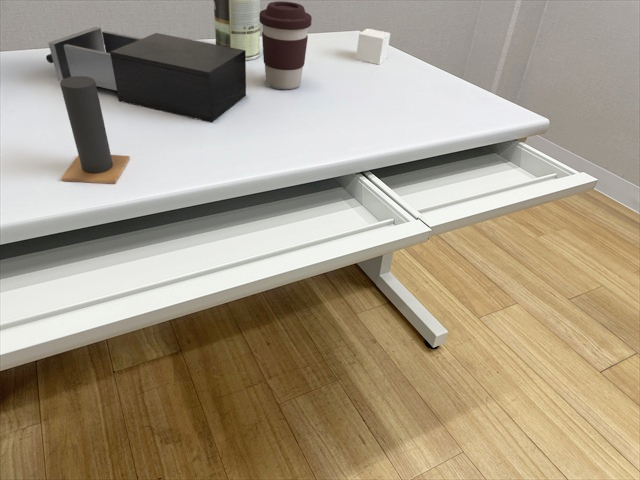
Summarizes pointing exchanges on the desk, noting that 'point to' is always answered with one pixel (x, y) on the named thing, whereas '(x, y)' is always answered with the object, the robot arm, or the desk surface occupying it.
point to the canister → (87, 123)
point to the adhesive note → (372, 46)
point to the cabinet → (180, 76)
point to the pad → (110, 176)
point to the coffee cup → (284, 43)
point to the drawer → (87, 55)
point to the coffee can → (238, 25)
